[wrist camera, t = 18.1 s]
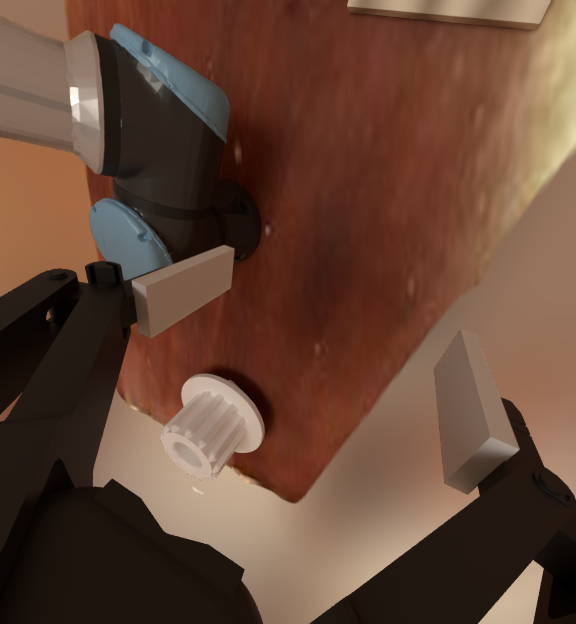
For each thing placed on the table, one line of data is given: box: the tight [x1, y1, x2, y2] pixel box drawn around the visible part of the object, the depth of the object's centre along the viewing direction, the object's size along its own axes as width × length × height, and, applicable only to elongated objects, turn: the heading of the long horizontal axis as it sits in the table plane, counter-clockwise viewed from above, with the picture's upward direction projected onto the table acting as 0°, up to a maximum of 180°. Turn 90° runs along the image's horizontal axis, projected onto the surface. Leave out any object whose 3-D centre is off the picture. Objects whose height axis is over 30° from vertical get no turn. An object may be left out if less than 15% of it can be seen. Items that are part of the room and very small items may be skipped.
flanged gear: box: [160, 374, 265, 480], centre depth 67 cm, size 25×25×19 cm
